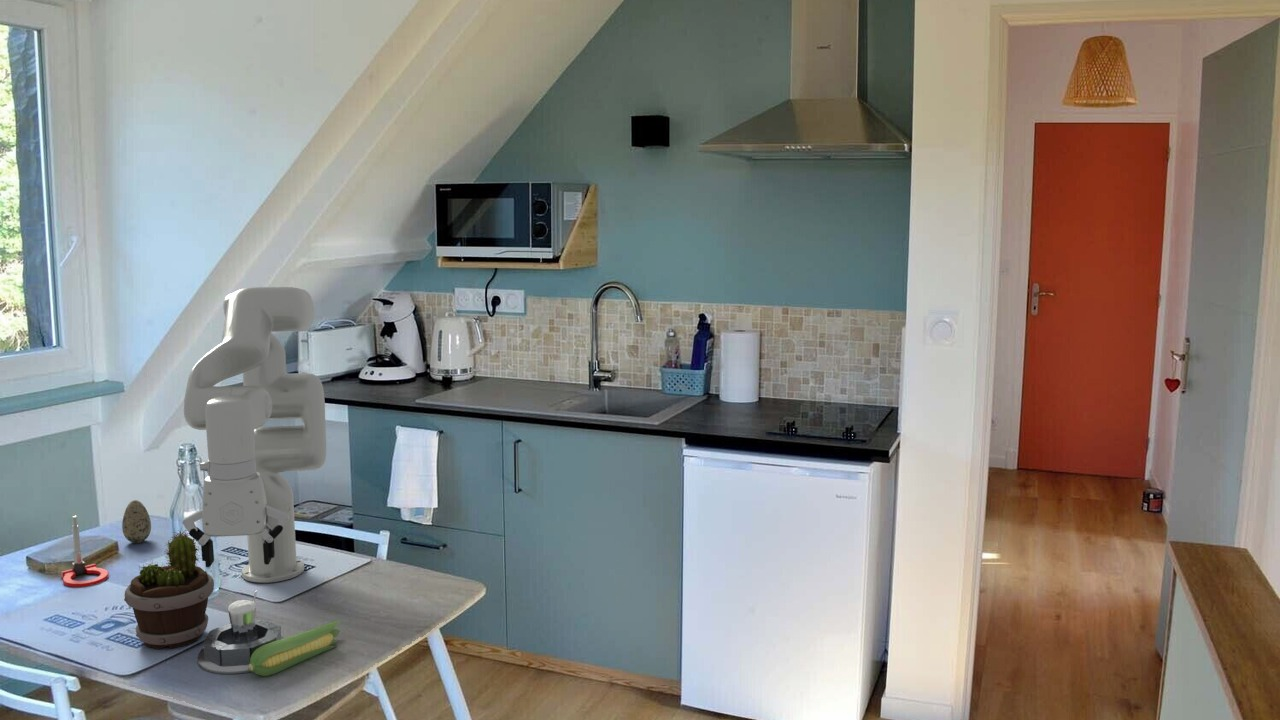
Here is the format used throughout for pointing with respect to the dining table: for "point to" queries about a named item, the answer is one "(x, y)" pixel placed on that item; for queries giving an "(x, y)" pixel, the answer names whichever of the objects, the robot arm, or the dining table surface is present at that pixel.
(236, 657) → the collar
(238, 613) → the milkshake
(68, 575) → the tow hook
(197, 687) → the dining table surface
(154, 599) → the flowerpot
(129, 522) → the decorative egg
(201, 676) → the dining table surface
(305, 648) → the edible corn
